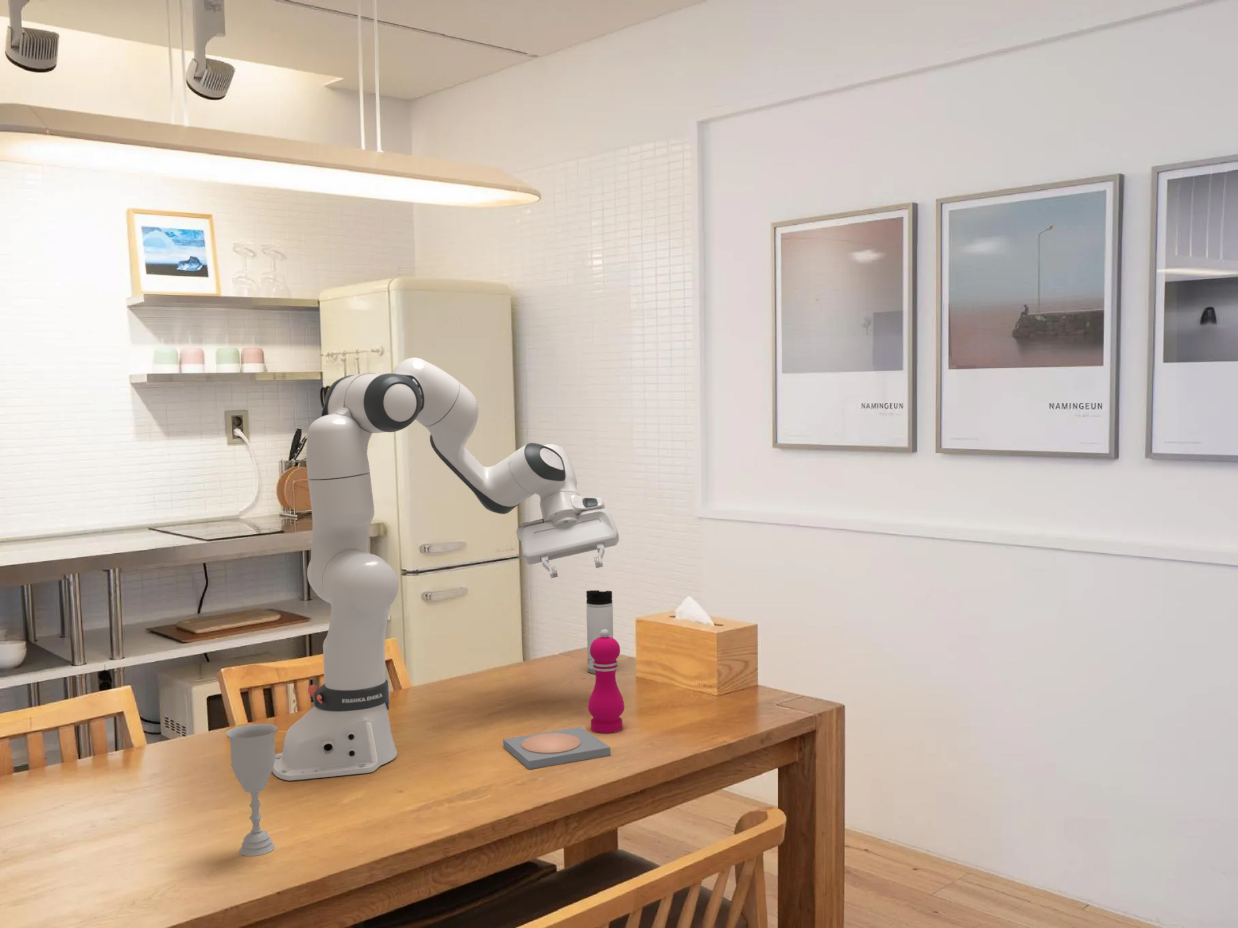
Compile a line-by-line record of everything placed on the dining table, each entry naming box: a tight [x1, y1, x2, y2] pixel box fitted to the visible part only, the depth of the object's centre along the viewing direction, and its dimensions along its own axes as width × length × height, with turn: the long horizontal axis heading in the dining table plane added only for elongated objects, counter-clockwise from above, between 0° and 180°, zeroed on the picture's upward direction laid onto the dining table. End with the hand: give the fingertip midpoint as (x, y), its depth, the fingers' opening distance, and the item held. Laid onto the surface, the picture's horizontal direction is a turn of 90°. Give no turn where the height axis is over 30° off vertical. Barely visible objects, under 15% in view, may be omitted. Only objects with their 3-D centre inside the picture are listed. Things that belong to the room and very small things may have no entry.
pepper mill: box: [587, 629, 625, 734], centre depth 218 cm, size 7×7×20 cm
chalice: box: [225, 723, 278, 857], centre depth 163 cm, size 7×7×18 cm
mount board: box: [502, 726, 612, 770], centre depth 205 cm, size 16×14×2 cm
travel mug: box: [585, 589, 614, 675], centre depth 262 cm, size 6×7×20 cm
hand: (576, 571), depth 224 cm, fingers open, 8 cm apart
